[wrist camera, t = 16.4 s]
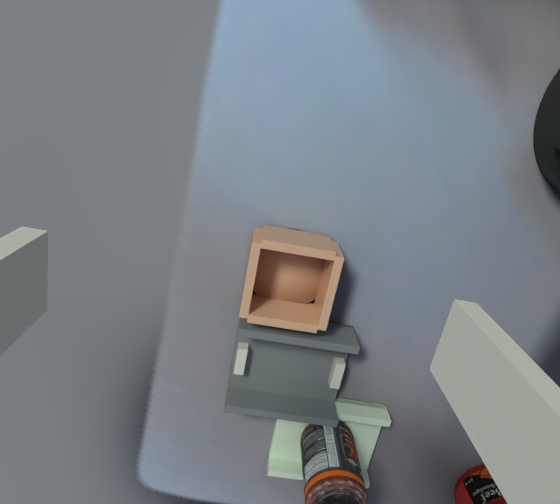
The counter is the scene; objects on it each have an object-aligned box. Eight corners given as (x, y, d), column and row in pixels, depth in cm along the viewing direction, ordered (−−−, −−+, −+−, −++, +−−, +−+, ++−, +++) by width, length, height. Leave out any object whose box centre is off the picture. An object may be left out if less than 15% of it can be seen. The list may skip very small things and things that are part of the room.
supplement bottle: (361, 443, 49) (386, 540, 39) (314, 464, 50) (327, 564, 39) (337, 406, 47) (357, 497, 37) (289, 428, 48) (295, 523, 38)
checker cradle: (352, 326, 45) (360, 347, 41) (331, 401, 48) (336, 427, 44) (241, 308, 44) (238, 328, 40) (227, 386, 47) (223, 411, 43)
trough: (385, 404, 48) (391, 421, 46) (363, 469, 52) (368, 488, 49) (283, 389, 47) (283, 405, 45) (267, 457, 51) (267, 475, 48)
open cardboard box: (337, 236, 41) (345, 253, 37) (319, 310, 44) (324, 334, 40) (254, 221, 41) (252, 237, 36) (241, 297, 43) (238, 321, 39)
